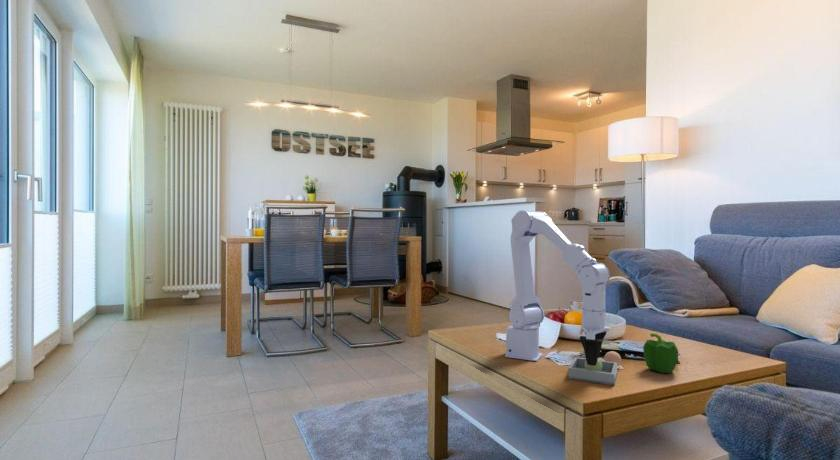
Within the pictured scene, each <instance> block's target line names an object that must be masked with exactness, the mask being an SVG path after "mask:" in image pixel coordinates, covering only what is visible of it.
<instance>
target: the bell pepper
mask: <svg viewBox="0 0 840 460" xmlns="http://www.w3.org/2000/svg"><path fill="white" fill-rule="evenodd" d="M649 335H650V338H653V337H654V338H656V339H657V340H654V339H647V340H646V342H644V345H643V349H642V350H643V357H644V362H645V363H646V364H645V365H646V367H647V368H648V370H651V371H655V372H659V373H661V374H670V373H673V371H674V370H675V368H676V366H677V362H678V358H679V349H678V347H677V345H676V343H675V342H674V341H665V340H664V339H662V336H661V335H659V334H658V333H654V332H653V333H650V334H649Z"/></svg>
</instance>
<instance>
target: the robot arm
mask: <svg viewBox="0 0 840 460" xmlns="http://www.w3.org/2000/svg"><path fill="white" fill-rule="evenodd" d="M510 222H511V234H510V249H511V257H512V268H513V277H514V287H515V289H514V290H515V296H514V298H513V299H512V300H511V302H510V311H509V315H508V316H509V321H510V323H511V325H508V327H507V329H506V336H505V340H506V341H505V352H506V353H505V356H504V357H505V358H510V359H517V360H518V359H519V360H527V361H533V362H537V361H538V360H539V359H540V358H541V357H542V356H543V353H542V352H540V327H541V323H542V322H544V320H545V311H544V309H543V307H542V304H541V300H540V298H539V297H538V296H537V295H536V294H535V287H534V278H533V277H534V276H533V268H532V267H533V266H532V260H531V259H532V257H531V247H530V243H531V241H532V240H533V239H534V238H535V237H537V236H538V235H543V236H544V237H545V238H546V239H547V240H549V242H551V244H553V245H554V247H556V248H557V249H558V250H560V251H561V258H562V260H563V261H564V262H566V264H567V265H569V267H570V268H571V269H572V270H573V271H574V272H575V274H577V279H578V282H579V283H580V286H581V294H582V295H581V297H582V298H581V302H582V303H581V309H582V310H581V312H582V313H581V319H582V320H581V327H580V329H581V328H582V329H583V330H584V332H583V333H584V334H585V335H584V336H583V335H580V336H579V342H580V344H581V346H582V348H583V352H584V356H585V357H584V358H585V359H586V362H587V365H593V366H596V364H597V359H599V358H600V355H601V353H602V346H603V342H604V339H605V337H606V336H607V332H609V331H611V327H609V326H606V296H607V295H606V286H607V285H606V284H607V283H608V282H609V280H610V277H611V272H610V270H609V268H608V266H607V265H606V264H604V263H602V262H597V259H596V258H595V257H593V256H591V255H590V254H589V253H588V252H587V251H586V250H585V246H584V245H582V244H579V243H572V242H571V241H570V240H569V239H568V238H567V237H566V236H565V234H564V233H563V232H562V231H561V230H560V229H559V228H558V227H557V225H555V223H554V222H553V220H552V217H550V216H549V215H548V214H547V213H546V212H544V211H542V210H537V211H533V210H519V211H517V212H516V213H515V215H514V216H513V217H512V218H511V221H510ZM605 335H606V336H605ZM600 352H601V353H600Z"/></svg>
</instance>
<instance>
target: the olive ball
mask: <svg viewBox="0 0 840 460" xmlns="http://www.w3.org/2000/svg"><path fill="white" fill-rule="evenodd" d="M601 361H602V360H601V359H599V358H598V359H597V364H596V366H593V365H587V362H586V361H585V368H586V370H593V371H601V370H602V362H601Z"/></svg>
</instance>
